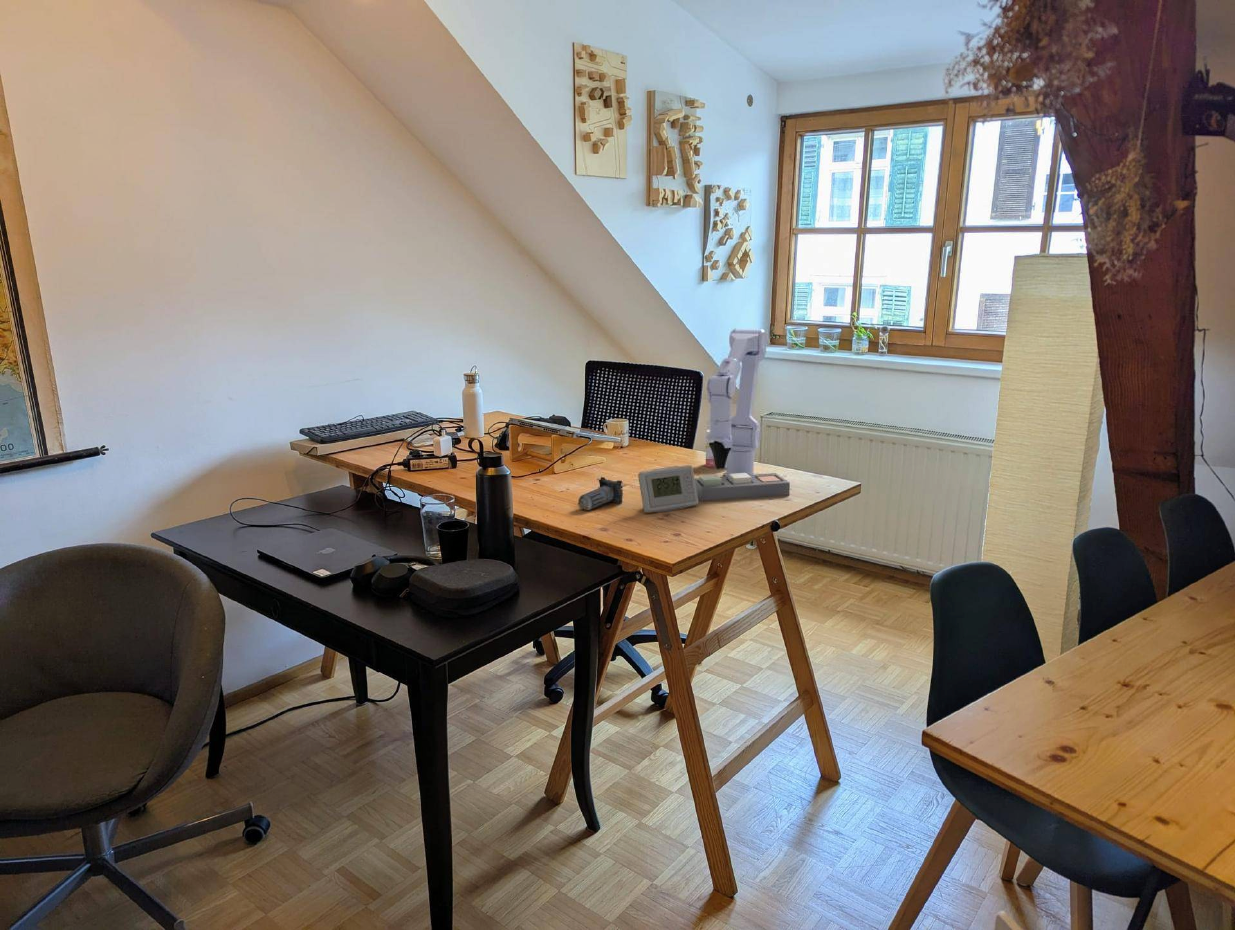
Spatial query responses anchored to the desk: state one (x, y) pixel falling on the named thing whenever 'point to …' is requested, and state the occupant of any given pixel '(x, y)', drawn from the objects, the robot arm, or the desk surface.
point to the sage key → (710, 480)
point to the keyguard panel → (743, 488)
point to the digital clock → (668, 488)
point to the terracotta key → (768, 479)
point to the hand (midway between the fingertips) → (720, 468)
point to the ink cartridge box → (709, 453)
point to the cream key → (739, 478)
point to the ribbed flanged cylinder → (602, 494)
